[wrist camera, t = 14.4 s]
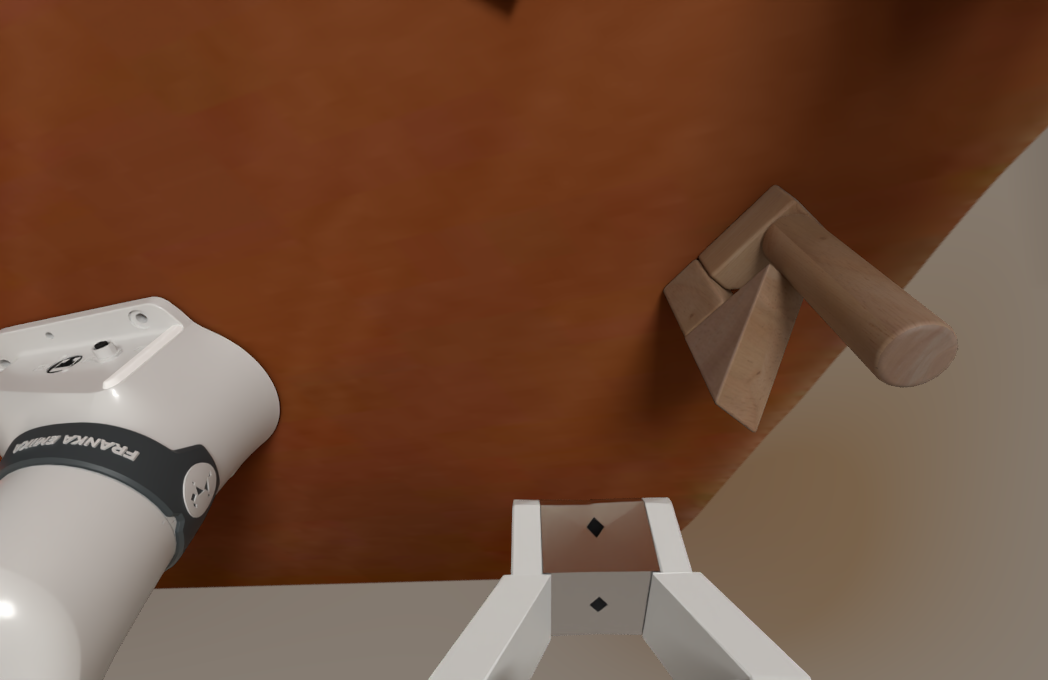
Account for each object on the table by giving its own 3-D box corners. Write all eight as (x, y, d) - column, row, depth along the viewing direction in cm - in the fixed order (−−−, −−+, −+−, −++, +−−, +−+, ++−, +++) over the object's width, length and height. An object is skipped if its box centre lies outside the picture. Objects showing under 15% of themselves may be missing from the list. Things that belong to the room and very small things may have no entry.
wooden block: (660, 289, 43) (735, 452, 28) (773, 181, 39) (937, 304, 23) (692, 315, 44) (781, 485, 29) (805, 213, 40) (981, 351, 24)
